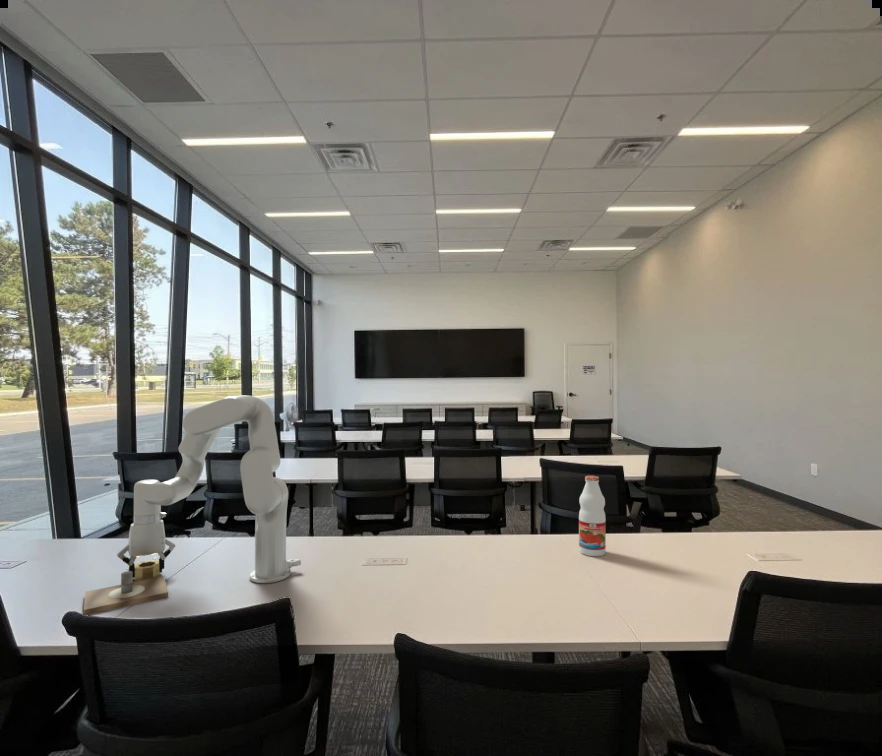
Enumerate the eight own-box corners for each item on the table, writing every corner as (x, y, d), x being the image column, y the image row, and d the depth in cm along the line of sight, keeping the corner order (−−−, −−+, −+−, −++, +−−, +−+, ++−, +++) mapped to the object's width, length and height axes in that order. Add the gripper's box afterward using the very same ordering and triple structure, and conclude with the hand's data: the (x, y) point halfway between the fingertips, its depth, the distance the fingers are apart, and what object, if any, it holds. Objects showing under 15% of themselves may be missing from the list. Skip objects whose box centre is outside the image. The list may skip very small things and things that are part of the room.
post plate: (163, 581, 155) (163, 558, 155) (168, 597, 143) (168, 573, 143) (85, 596, 143) (85, 572, 143) (83, 615, 132) (83, 589, 132)
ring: (158, 571, 163) (158, 558, 163) (160, 577, 157) (160, 565, 157) (133, 575, 159) (133, 563, 159) (134, 582, 153) (134, 570, 153)
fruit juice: (606, 550, 184) (605, 475, 184) (605, 558, 175) (605, 479, 175) (579, 547, 187) (579, 473, 187) (577, 555, 178) (577, 478, 178)
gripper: (176, 512, 166) (175, 564, 166) (114, 520, 156) (114, 576, 156) (179, 517, 160) (178, 571, 160) (115, 526, 150) (114, 584, 150)
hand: (146, 573), depth 158 cm, fingers closed on ring, 7 cm apart
